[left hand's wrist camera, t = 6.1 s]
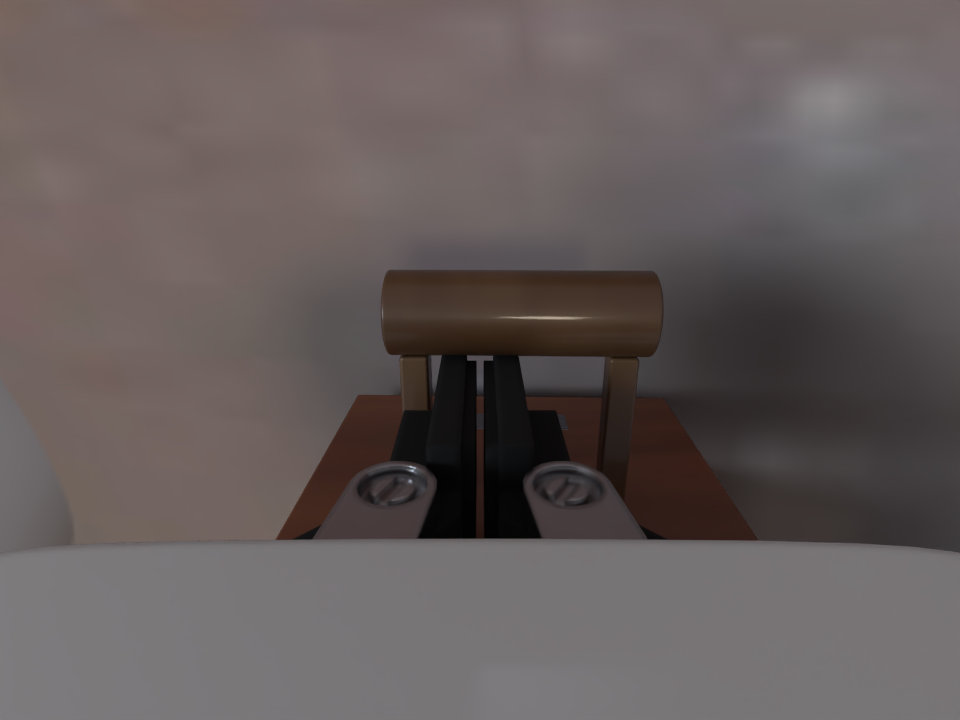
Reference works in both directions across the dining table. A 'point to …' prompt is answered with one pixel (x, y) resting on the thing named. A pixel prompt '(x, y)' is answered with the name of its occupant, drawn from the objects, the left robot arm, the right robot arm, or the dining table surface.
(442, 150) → the dining table surface
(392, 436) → the drawer
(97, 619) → the left robot arm
